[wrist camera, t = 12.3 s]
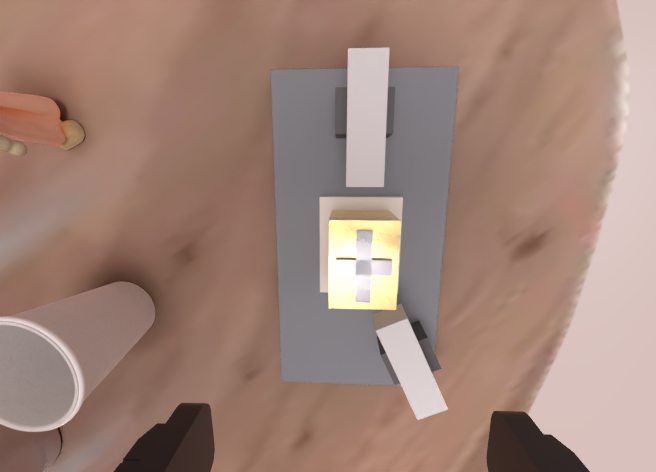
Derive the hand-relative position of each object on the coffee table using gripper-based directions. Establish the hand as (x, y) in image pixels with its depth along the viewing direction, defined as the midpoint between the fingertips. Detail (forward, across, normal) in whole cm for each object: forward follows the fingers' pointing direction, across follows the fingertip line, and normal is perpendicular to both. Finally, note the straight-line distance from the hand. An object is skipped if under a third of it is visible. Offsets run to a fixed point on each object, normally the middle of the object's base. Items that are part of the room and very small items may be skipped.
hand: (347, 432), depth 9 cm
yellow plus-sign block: (+17, -1, -1) cm, 17 cm away
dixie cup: (+19, +21, +6) cm, 29 cm away
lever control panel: (+19, -1, -1) cm, 19 cm away
